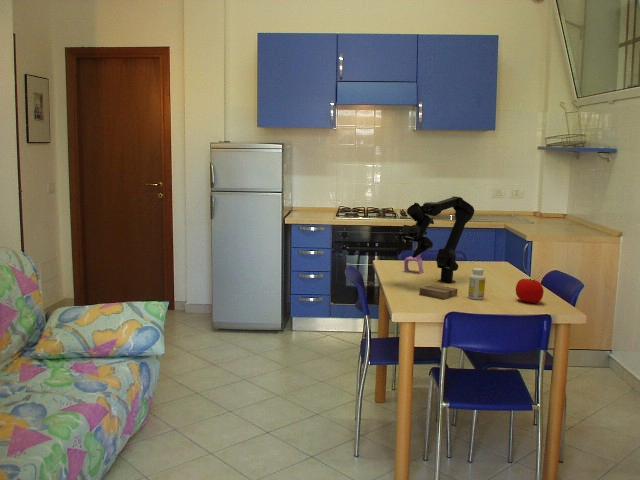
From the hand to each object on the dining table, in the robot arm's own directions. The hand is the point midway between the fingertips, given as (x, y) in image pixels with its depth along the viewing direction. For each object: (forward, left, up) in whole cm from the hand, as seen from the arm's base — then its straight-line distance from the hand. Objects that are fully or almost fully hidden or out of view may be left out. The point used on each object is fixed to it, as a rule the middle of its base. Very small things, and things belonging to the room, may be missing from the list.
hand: (405, 256), depth 320 cm
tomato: (-19, +51, -15) cm, 57 cm away
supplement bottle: (-7, +32, -15) cm, 36 cm away
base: (+1, +18, -15) cm, 23 cm away
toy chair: (-37, -17, -15) cm, 43 cm away
